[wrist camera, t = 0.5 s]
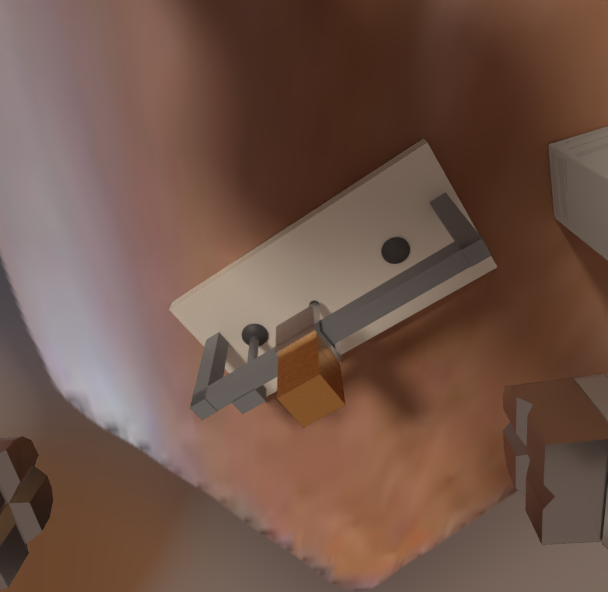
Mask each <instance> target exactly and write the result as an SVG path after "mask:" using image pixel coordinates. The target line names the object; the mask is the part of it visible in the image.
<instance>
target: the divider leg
mask: <svg viewBox="0 0 608 592" xmlns="http://www.w3.org/2000/svg"><path fill="white" fill-rule="evenodd" d="M319 306H320V305H319V302H318V301H316V300H313V301H311V302H310V303H309V307H308V308H306V309H304V310H303V311H301V312H299V313H298V314H296V315H294V316H292V317H291V318H289V319H287V320H286V321H284V322H282V323H281V324H279V325H277V326H276V344H275V354H276V355H277V356H278V374H277V399H278V400H279V401H280V402H281V403H282V405H283V406H284V407H285V408H286V409H287V410H288V411H289V412H290V413H291V414H292V416H293V417H294V418H295V419H296V420H297V421H298V422H299V423H300V424H301V425H302V426H303V427H305V426H307V425H309V424H311V423H313V422H315V421H316V420H318V419H320V418H322V417H324V416H326V415H328V414H330V413H331V412H333V411H335V410H337V409H339V408H341V407H343V406H345V397H344V390H343V383H342V376H341V369H340V365H342V360H341V353H340V346H339V342H337V343H336V344H334V345H331V343H330V342H329V341H328V340H327V338H326V337H325V336H324V335H323V333H322V332H321V331H320V324H319V321H320V310H319Z"/></svg>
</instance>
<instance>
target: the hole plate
mask: <svg viewBox="0 0 608 592" xmlns="http://www.w3.org/2000/svg"><path fill="white" fill-rule="evenodd" d="M491 256H492V255H491V253H490V251H489V249H488V248H487V246H486V244H485V242H484V241H483V239H482V237H481V236H480V235H479V233H478V232H477V230H476V228H475V226H474V225H473V223H472V221H471V219H470V217H469V216H468V214H467V212H466V210H465V209H464V207H463V205H462V203H461V201H460V200H459V198H458V196H457V194H456V193H455V191H454V189H453V187H452V185H451V184H450V182H449V180H448V178H447V176H446V175H445V173H444V171H443V169H442V168H441V166H440V164H439V162H438V160H437V159H436V157H435V155H434V153H433V152H432V150H431V148H430V146H429V144H428V143H427V142H426V140H425V139H424V138H423V139H422V140H420V141H419V142H417V143H416V144H414V145H412V146H411V147H409V148H408V149H406V150H405V151H403V152H402V153H400V154H399V155H397V156H396V157H394V158H393V159H391V160H389V161H388V162H386V163H385V164H383V165H382V166H380V167H379V168H377V169H376V170H374V171H373V172H371V173H369V174H368V175H366V176H365V177H363V178H362V179H360V180H359V181H357V182H356V183H354V184H353V185H351V186H350V187H348V188H346V189H345V190H343V191H342V192H340V193H339V194H337V195H336V196H334V197H333V198H331V199H330V200H328V201H327V202H325V203H323V204H322V205H320V206H319V207H317V208H316V209H314V210H313V211H311V212H310V213H308V214H307V215H305V216H304V217H302V218H300V219H299V220H297V221H296V222H294V223H293V224H291V225H290V226H288V227H287V228H285V229H284V230H282V231H281V232H279V233H277V234H276V235H274V236H273V237H271V238H270V239H268V240H267V241H265V242H264V243H262V244H261V245H259V246H257V247H256V248H254V249H253V250H251V251H250V252H248V253H247V254H245V255H244V256H242V257H241V258H239V259H238V260H236V261H234V262H233V263H231V264H230V265H228V266H227V267H225V268H224V269H222V270H221V271H219V272H218V273H216V274H215V275H213V276H211V277H210V278H208V279H207V280H205V281H204V282H202V283H201V284H199V285H198V286H196V287H195V288H193V289H192V290H190V291H188V292H187V293H185V294H184V295H182V296H181V297H179V298H178V299H176V300H175V301H173V302H172V304H171V307H170V309H169V310H170V311H171V312H172V313H173V314H174V315H175V316H176V317H177V318H178V320H179V321H180V322H181V323H182V324H183V325H184V326H185V327H186V328H187V329H188V330H189V331H190V332H191V333H192V334H193V335H194V337H195V338H196V339H197V340H198V341H199V342H200V343H201V344H202V345H203V346H204V351H203V355H202V360H201V364H200V368H199V372H198V376H197V381H196V385H195V389H194V393H193V397H192V402H191V406H190V409H191V410H192V411H193V412H194V413H195V414H196V415H198V416H199V417H200V418H201V419H202V420H203V419H205V418H207V417H209V416H210V415H212V414H214V413H216V412H217V411H218V410H220V409H222V408H223V407H225V406H227V405H229V404H230V403H232V404H233V405H234V406H235V407H236V408H237V409H238V410H239V411H240V412H241V413H242V414H244V413H245V412H247V411H249V410H251V409H253V408H254V407H256V406H258V405H260V404H262V403H263V402H265V401H266V397H267V396H269V395H271V394H272V393H274V392H276V391H277V374H278V356H277V355H276V354H275V344H276V326H277V325H279V324H281V323H282V322H284V321H286V320H287V319H289V318H291V317H292V316H294V315H296V314H298V313H299V312H301V311H303V310H304V309H306V308H308V307H309V303H310V302H311V301H313V300H316V301H318V302H319V305H320V306H319V310H320V321H319V324H320V331H321V332H322V333H323V335H324V336H325V337H326V338H327V340H328V341H329V342H330V343H331V345H334V344H336V343H337V342H339V346H340V353H341V355H342V354H344V353H345V352H347V351H349V350H351V349H353V348H354V347H356V346H358V345H360V344H362V343H363V342H365V341H367V340H369V339H370V338H372V337H374V336H376V335H378V334H379V333H381V332H383V331H385V330H386V329H388V328H390V327H392V326H394V325H395V324H397V323H399V322H401V321H403V320H404V319H406V318H408V317H410V316H411V315H413V314H415V313H417V312H419V311H420V310H422V309H424V308H426V307H427V306H429V305H431V304H433V303H435V302H436V301H438V300H440V299H442V298H443V297H445V296H447V295H449V294H451V293H452V292H454V291H456V290H458V289H460V288H461V287H463V286H465V285H467V284H468V283H470V282H472V281H474V280H476V279H477V278H479V277H481V276H483V275H484V274H486V273H488V272H490V271H492V270H493V269H495V268H497V266H496V264H495V262H494V260H493V258H492V257H491ZM224 369H226V370H227V372H228V373H229V374H228V375H226V376H224V377H223V375H224Z"/></svg>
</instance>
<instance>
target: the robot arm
mask: <svg viewBox="0 0 608 592" xmlns="http://www.w3.org/2000/svg"><path fill="white" fill-rule="evenodd" d="M503 409H504V411H505V413H506V415H507V416H508V418H509V420H510V423H509V424H508V425H507V426H506V428H505V429H504V430H503V440H504V452H505V458H506V464H507V467H508V471H509V474H510V477H511V479H512V481H513V484H514V486H515V488H516V489H517V490H518V491H520V492H522V493H523V494H525V495H526V512H527V514H528V516H529V519H530V521H531V522H532V525H533V527H534V529H535V531H536V533H537V535H538V538H539V540H540V542H541V544H542V545H546V544H565V543H584V542H602V545H604V546H605V547H606V548H607V549H608V377H607V376H605V375H603V374H594V375H587V376H580V377H573V378H569V379H562V380H553V381H545V382H537V383H529V384H521V385H512V386H505V389H504V394H503ZM38 456H39V455H38V453H37V451H36V449H35V447H34V444H33V442H32V441H31V440H30V439H28V438H25V437H23V436H20V437H8V438H0V589H4V588H8V587H9V585H10V584H11V582H12V581H13V579H14V577H15V576H16V574H17V572H18V571H19V569H20V567H21V566H22V564H23V562H24V561H25V559H26V557H27V556H28V554H29V551H28V546H27V542H29V541H30V540H31V539H33V538H34V537H35V536H37V535H38V534H39V533H40V532H42V530H43V529H44V527H45V525H46V523H47V522H48V520H49V518H50V514H51V508H52V504H53V494H52V487H51V484H50V482H49V479H48V477H47V475H46V474H44V473H43V472H42V471H40V470H39V469H38V468H36V467H35V464H36V461H37V459H38Z"/></svg>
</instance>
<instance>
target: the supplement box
mask: <svg viewBox="0 0 608 592" xmlns="http://www.w3.org/2000/svg"><path fill="white" fill-rule="evenodd" d="M548 147H549V161H550V174H551V186H552V198H553V209H554V217H555V219H556V220H557V221H559V222H560V223H561V224H563V225H564V226H565V227H566V228H567V229H569V230H570V231H571V232H572V233H574V234H575V235H576V236H577V237H579V238H580V239H581V240H582V241H584V242H585V243H586V244H587V245H589V246H590V247H591V248H592V249H594V250H595V251H596V252H597V253H598V254H600V255H601V256H602V257H603V258H605V259H606V260H607V261H608V126H607V127H604V128H600V129H597V130H594V131H591V132H587V133H584V134H581V135H577V136H574V137H571V138H568V139H564V140H561V141H558V142H555V143H551V144H549V145H548Z"/></svg>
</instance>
